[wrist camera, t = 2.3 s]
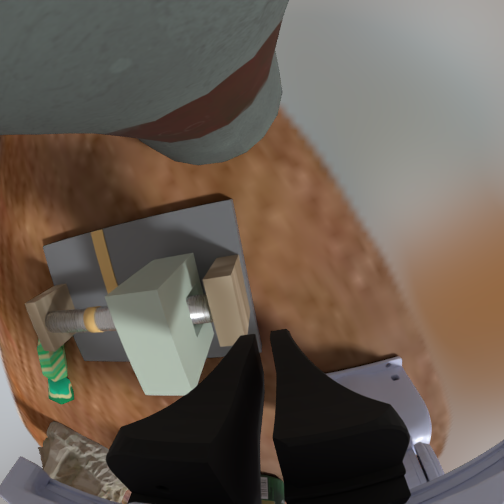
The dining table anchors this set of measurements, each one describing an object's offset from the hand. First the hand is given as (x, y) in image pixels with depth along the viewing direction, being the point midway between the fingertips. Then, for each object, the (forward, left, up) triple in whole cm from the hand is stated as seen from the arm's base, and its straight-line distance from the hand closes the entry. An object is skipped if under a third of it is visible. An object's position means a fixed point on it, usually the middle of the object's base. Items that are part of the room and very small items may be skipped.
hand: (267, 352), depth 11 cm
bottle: (+1, -13, -11) cm, 17 cm away
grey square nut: (+6, 0, -8) cm, 10 cm away
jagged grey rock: (+33, +28, -11) cm, 45 cm away
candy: (+24, +6, -11) cm, 27 cm away
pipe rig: (+10, 0, -10) cm, 15 cm away
